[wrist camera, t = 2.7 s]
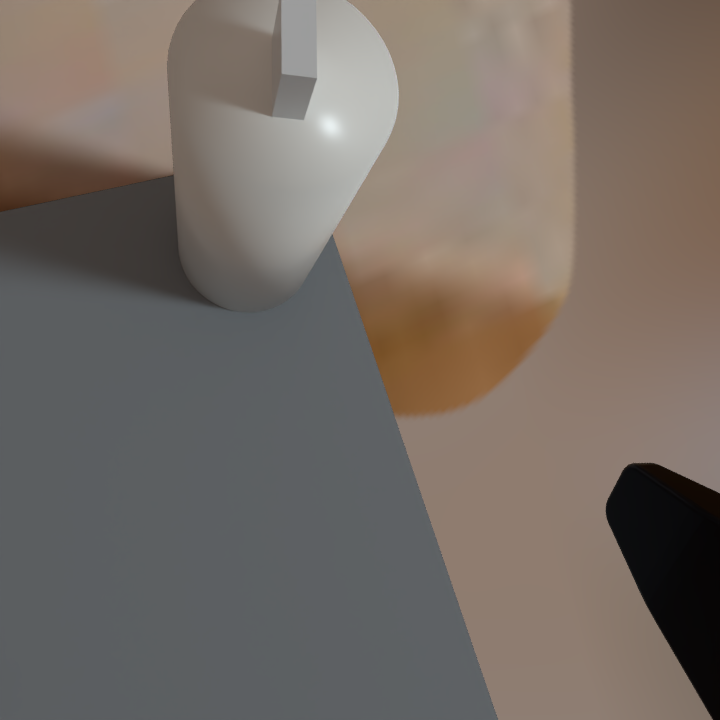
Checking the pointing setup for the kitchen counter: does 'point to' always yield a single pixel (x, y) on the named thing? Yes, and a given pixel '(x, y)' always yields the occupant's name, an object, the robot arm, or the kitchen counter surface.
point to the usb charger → (271, 138)
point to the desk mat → (204, 493)
